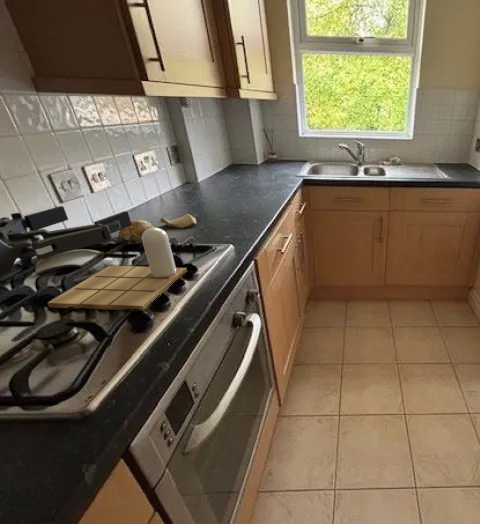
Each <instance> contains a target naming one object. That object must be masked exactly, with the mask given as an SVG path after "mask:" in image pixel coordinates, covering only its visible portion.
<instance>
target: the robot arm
mask: <svg viewBox="0 0 480 524" xmlns="http://www.w3.org/2000/svg"><path fill="white" fill-rule="evenodd" d="M10 216H11V219H10V217H8V216H7V217H6V216H2V217H1V218H0V278H2V277H4V276H7V275H8V274H10V273H11V272H12V271H13V269H14V267H15V263H16V261H17V260H18V259H26V258H31V257H33V256H34V255H35V256H36V259H37V260H42V259H46V258H49V257H51V256H54V255H57V254H60V253H64V252H68V251H73V250H81V249H83V248H87V247H88V248H89V247H91V246H95V245H99V244H105V243H108V242H111V241H113V239H114V238H113V236H112V234H114V233H116V232H119V231H120V230H121V229H124V228H126V227H128V226H131V225H132V224H131V221H132V220H131V217H130V214H129V211H128V210H127V211H126V210H124V211H121V212H118V213H115V214H113V215H110V216H107V217H104V218H101V219H99V220H96V221H93V223H92V224H85V225H82V226H73V227H67V228H62V229H55V230H47V227H51V226H53V225H57V224H60V223H63V222H66V221H68V220H69V217H68V215H67V212H66V210H65V206H64V205H62V206H61V205H58V206H55V207H52V208H48V209H45V210H41V211H37V212H34V213H31V214H27V215H24V216H22V214H21V212H14V213H11V214H10ZM28 229H29V230H28ZM40 236H41V237H42V238H41V237H40Z"/></svg>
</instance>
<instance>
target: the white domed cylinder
mask: <svg viewBox="0 0 480 524" xmlns="http://www.w3.org/2000/svg"><path fill="white" fill-rule="evenodd" d="M141 244H142V246H143V250H144V253H145V256H146V260H147V264H148V267H150V271H151V274H152V276H154V277H165V276H169V275H172V274H174V273H175V272H176V268H177V266H176V262H175V259H174V255H173V250H172V247H171V241H170V239H169V235H168V233H167V232H166V231H165V230H164V229H162V228H160V227H155V228H149V229H147V230H146V231H145V232H144V233H143V234H142V243H141Z"/></svg>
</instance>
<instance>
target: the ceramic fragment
mask: <svg viewBox="0 0 480 524" xmlns="http://www.w3.org/2000/svg"><path fill="white" fill-rule="evenodd" d="M101 255H102V252H101V251H99V250H95V249H76V250H72V251H68V252H64V253H60V254H57V255H54V256H51V257H49V258H46V259H39V261H37V262H36V263H35V264H36V265H35V269H34V272H35V274H36V275H41V274H43V273H45V272H46V273H47V272H49V271H51V270H56V269H61V268H70V267H71V268H73V267H74V268H83V267H84V266H85V265H87V264H88V263H90V262H92V261H93V260H95V259H97V258H98V257H100V256H101ZM94 258H95V259H94ZM83 265H84V266H83ZM82 266H83V267H82Z"/></svg>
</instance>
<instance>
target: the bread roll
mask: <svg viewBox="0 0 480 524" xmlns="http://www.w3.org/2000/svg"><path fill="white" fill-rule="evenodd" d="M130 221H131V224H132V225H131V226H128V227H126V228H124V229H121V230H119V231H118V235H117V236H118V240H119V241H120V242H121V243H123V244H125V245H130V244H131V245H139V244H138V243H141V244H143V243H142V234H143V233H144V232H145V231H146V230H147V229H149V228H156V226H153V224H152V223H150V222H149V221H146V220H142V219H134V220H133V219H132V220H130Z"/></svg>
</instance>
